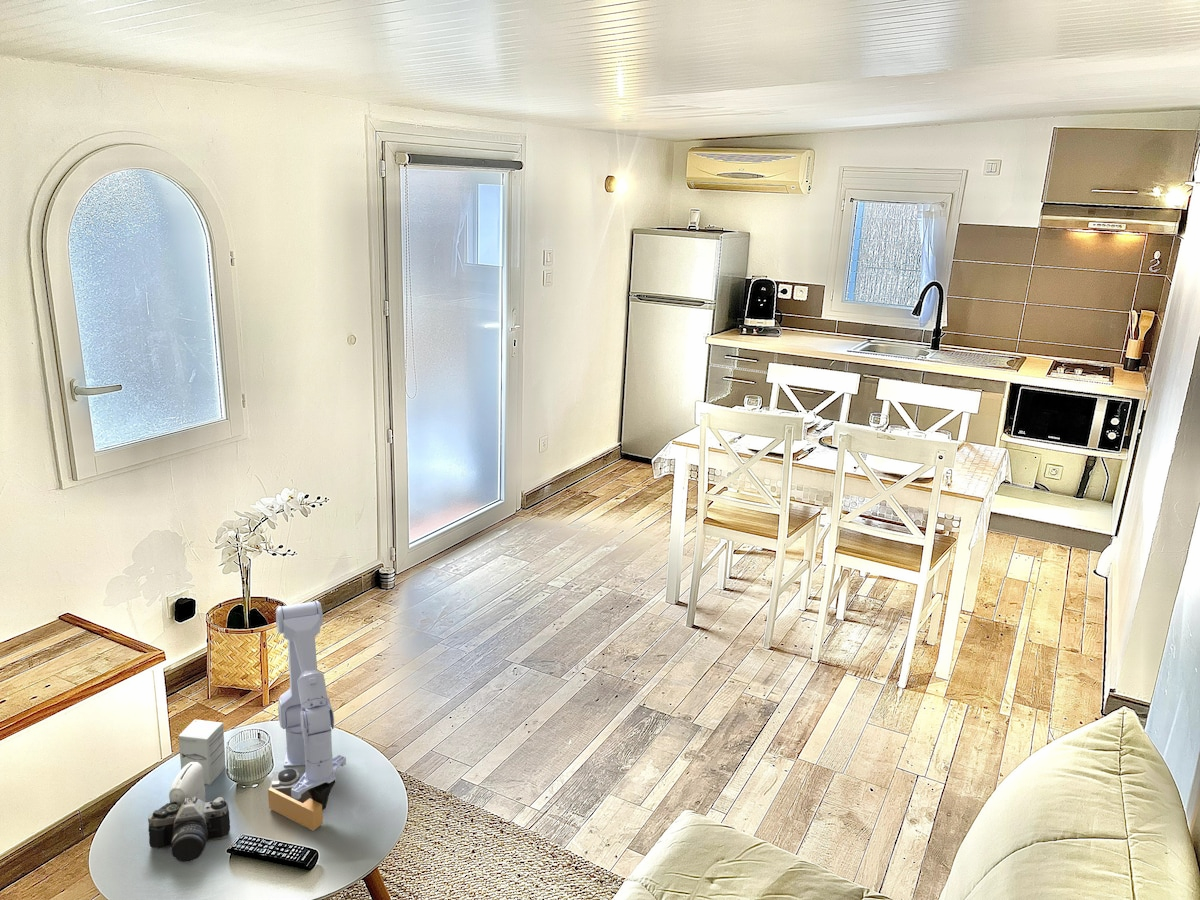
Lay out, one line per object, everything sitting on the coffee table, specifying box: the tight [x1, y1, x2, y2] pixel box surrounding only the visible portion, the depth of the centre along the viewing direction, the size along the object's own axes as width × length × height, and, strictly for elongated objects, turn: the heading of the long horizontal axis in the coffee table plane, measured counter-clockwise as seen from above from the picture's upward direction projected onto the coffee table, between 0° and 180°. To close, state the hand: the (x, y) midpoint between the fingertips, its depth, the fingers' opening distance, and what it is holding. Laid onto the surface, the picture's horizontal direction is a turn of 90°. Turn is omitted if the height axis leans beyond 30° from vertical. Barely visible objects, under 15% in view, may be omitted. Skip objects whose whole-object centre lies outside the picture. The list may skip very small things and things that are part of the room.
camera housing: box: [269, 768, 313, 803], centre depth 204 cm, size 6×10×6 cm, turn 103°
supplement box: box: [178, 718, 226, 786], centre depth 209 cm, size 7×7×13 cm
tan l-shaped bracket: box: [267, 787, 324, 831], centre depth 197 cm, size 3×14×5 cm, turn 61°
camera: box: [147, 796, 231, 863], centre depth 185 cm, size 16×10×10 cm, turn 109°
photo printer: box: [168, 762, 207, 805], centre depth 194 cm, size 10×4×12 cm, turn 2°
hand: (320, 808), depth 197 cm, fingers closed
